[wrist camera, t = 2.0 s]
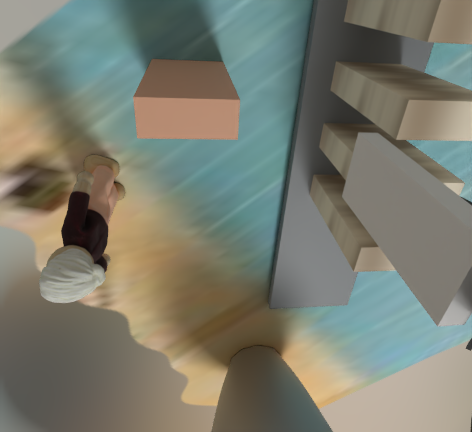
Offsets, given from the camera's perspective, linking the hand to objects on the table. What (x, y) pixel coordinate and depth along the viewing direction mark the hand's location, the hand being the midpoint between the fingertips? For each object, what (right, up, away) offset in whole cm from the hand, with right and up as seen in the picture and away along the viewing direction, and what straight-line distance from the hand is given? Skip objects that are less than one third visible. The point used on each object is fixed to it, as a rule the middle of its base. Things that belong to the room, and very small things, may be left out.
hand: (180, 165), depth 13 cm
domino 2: (+12, +12, +11) cm, 20 cm away
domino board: (+11, +2, +19) cm, 22 cm away
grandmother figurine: (-9, +1, +17) cm, 19 cm away
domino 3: (+12, +8, +13) cm, 19 cm away
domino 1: (-1, +8, +13) cm, 15 cm away
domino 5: (+11, +1, +18) cm, 21 cm away
